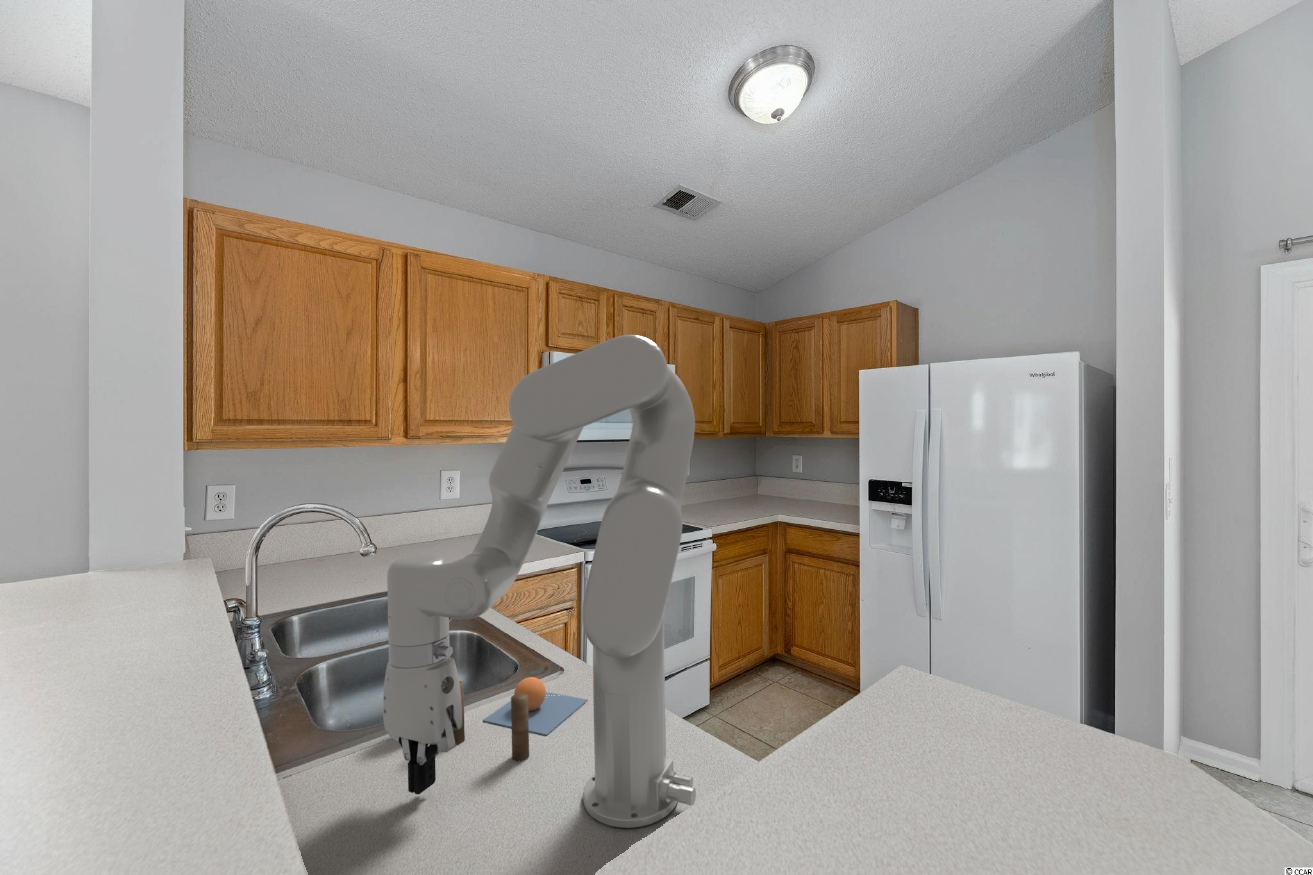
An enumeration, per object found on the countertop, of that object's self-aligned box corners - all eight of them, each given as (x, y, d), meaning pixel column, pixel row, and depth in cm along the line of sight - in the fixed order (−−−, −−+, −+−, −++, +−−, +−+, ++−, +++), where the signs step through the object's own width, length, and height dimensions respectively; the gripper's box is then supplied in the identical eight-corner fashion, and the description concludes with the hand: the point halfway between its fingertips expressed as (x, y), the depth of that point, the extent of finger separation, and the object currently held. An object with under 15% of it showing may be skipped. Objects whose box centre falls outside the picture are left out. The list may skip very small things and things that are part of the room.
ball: (545, 674, 99) (532, 704, 95) (554, 689, 102) (541, 719, 98) (518, 668, 101) (504, 698, 97) (528, 683, 104) (514, 713, 100)
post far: (468, 738, 90) (466, 682, 90) (456, 746, 88) (455, 688, 88) (456, 735, 91) (454, 679, 91) (444, 743, 89) (443, 686, 89)
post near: (532, 753, 85) (531, 694, 85) (522, 762, 83) (521, 701, 83) (519, 750, 86) (517, 692, 86) (508, 759, 84) (507, 699, 84)
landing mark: (587, 700, 102) (587, 699, 102) (546, 735, 90) (546, 734, 90) (528, 689, 107) (528, 688, 107) (482, 721, 96) (482, 720, 96)
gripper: (483, 647, 76) (485, 783, 76) (401, 634, 82) (403, 760, 81) (441, 669, 69) (444, 818, 69) (355, 653, 75) (358, 791, 75)
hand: (422, 787), depth 75 cm, fingers closed
